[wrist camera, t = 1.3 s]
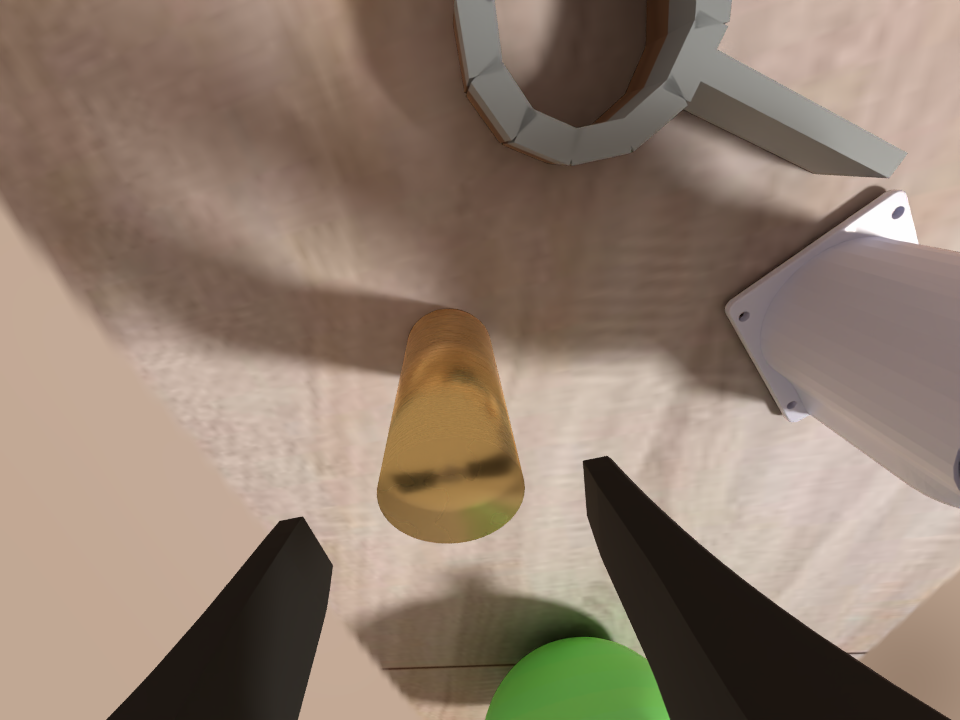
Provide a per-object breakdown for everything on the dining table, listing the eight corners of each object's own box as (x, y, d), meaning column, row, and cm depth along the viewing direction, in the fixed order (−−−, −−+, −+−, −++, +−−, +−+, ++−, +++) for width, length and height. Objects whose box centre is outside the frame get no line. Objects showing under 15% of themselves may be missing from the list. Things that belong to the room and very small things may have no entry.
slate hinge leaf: (832, 161, 16) (910, 163, 13) (624, 315, 18) (654, 343, 16) (680, -302, 10) (766, -468, 7) (408, 16, 12) (399, -20, 10)
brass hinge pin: (507, 349, 19) (553, 494, 11) (447, 397, 20) (448, 561, 12) (451, 291, 17) (456, 410, 9) (389, 346, 18) (344, 496, 10)
